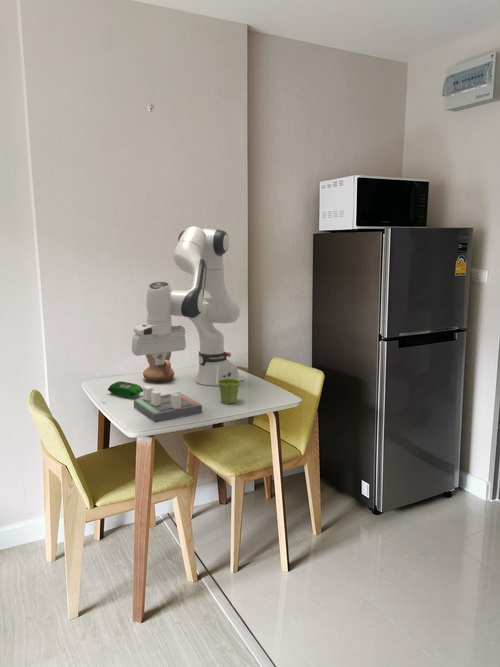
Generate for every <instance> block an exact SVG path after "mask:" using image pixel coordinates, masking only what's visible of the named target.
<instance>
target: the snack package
mask: <svg viewBox="0 0 500 667" xmlns="http://www.w3.org/2000/svg"><path fill="white" fill-rule="evenodd" d="M107 391H108V392H110V394H112V395H113V396H117V397H121V398H122V397H123V398H128V399H132V398H134V397H136V396H138V395H140V394H141V393H143V387H142V386H140V385H139V384H136V383H131V382H127V381H116V382H114V383H112V384H110V385H109V387H108V388H107Z"/></svg>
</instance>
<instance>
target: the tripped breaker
mask: <svg viewBox="0 0 500 667" xmlns="http://www.w3.org/2000/svg"><path fill="white" fill-rule="evenodd" d="M173 393H174V394H172V393H170V394H171V407H172V408H174V409H179V408H181V395H179V394H177V393H178V392H173Z"/></svg>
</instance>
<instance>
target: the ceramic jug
mask: <svg viewBox="0 0 500 667" xmlns="http://www.w3.org/2000/svg"><path fill="white" fill-rule="evenodd" d="M156 357H157V358H158V359H161V357H162V354H161V353H158V356H156ZM171 357H172V352H167V356H166V358H165V360H164V364H162V365H155V359H154V358H153V356H152V354H148V355H145V358H146V360H147V364H148V365H149V366H148V367H146V369H145V370H143V372H142V376H143V378H144V379H145V380H147V381H149V382H156V383H164V382H166V381H169V380H172V379H173V378H174V377H175V371H174V370H173V369H172V365H171V361H170V360H171Z"/></svg>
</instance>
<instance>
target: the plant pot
mask: <svg viewBox="0 0 500 667" xmlns="http://www.w3.org/2000/svg"><path fill="white" fill-rule="evenodd" d="M241 383H242V381H239V380H236V379H221V380H219V381H218V384H219V386H218V387H219V393H220V399H221V400H220V401H221V403H223V404H226V405H231V404H236V403H237V399H238V393H239V387H240V385H241Z"/></svg>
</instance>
